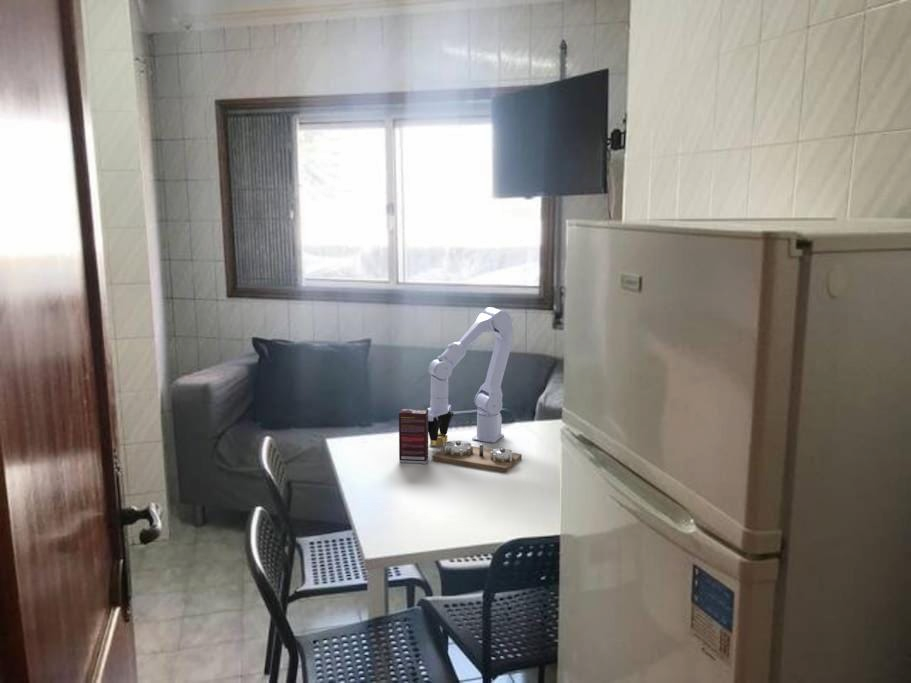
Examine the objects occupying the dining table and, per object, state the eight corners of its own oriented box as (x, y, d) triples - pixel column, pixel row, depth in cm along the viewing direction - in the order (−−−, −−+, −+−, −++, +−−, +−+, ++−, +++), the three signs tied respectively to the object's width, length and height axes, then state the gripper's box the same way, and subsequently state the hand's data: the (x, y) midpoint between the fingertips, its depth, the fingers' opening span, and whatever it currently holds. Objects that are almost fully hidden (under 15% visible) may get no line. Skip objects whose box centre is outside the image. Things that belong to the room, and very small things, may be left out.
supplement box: (428, 459, 233) (429, 409, 230) (426, 464, 228) (427, 413, 225) (401, 457, 234) (401, 408, 231) (398, 462, 229) (398, 412, 226)
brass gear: (434, 440, 251) (434, 431, 250) (450, 443, 249) (450, 434, 248) (427, 445, 246) (427, 436, 245) (442, 448, 243) (443, 439, 243)
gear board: (451, 447, 244) (451, 432, 243) (521, 458, 235) (521, 442, 234) (432, 460, 232) (432, 444, 231) (505, 472, 222) (506, 456, 221)
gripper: (437, 390, 252) (437, 429, 255) (418, 400, 239) (417, 441, 242) (457, 392, 250) (456, 432, 252) (438, 402, 236) (437, 444, 239)
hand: (438, 436), depth 247 cm, fingers open, 7 cm apart
